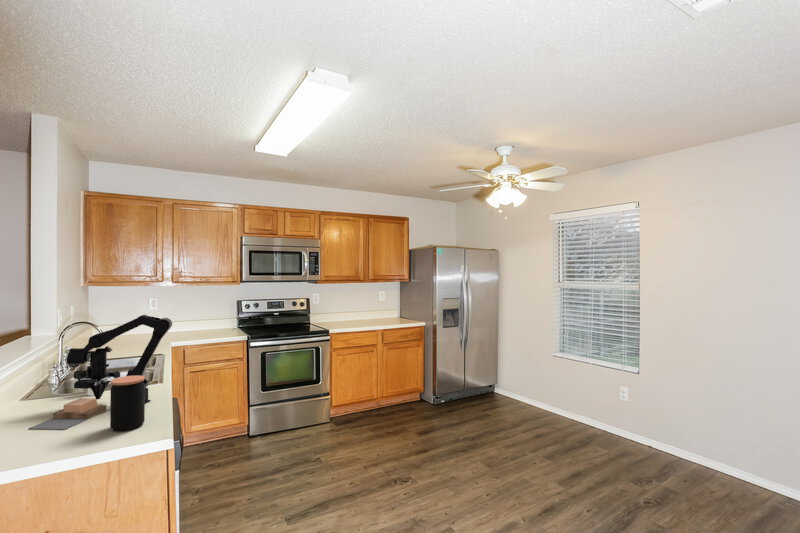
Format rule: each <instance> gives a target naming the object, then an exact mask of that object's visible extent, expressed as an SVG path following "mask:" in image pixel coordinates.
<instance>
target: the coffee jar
mask: <svg viewBox="0 0 800 533" xmlns="http://www.w3.org/2000/svg"><path fill="white" fill-rule="evenodd" d="M144 379H146V377H145V375H144V376H138V375H135V376H126V375H125V376H120V377H118V378H114V379H111V380H110V381H111V382H110V384H111V385H112V386H111V387H110V404H109V405H110V408H109V410H110V415H109V416H110V421H109V422H110V424H109V426H110V428H111V430H112V431H113V432H117V433H121V432H129V431H132V430H136V429H139V428H140V427H142V425H144V422H145V420H146V419H145V416H146V415H145V410H146V407H145V404H146V403H145V383H144V382H143V381H144Z"/></svg>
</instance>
